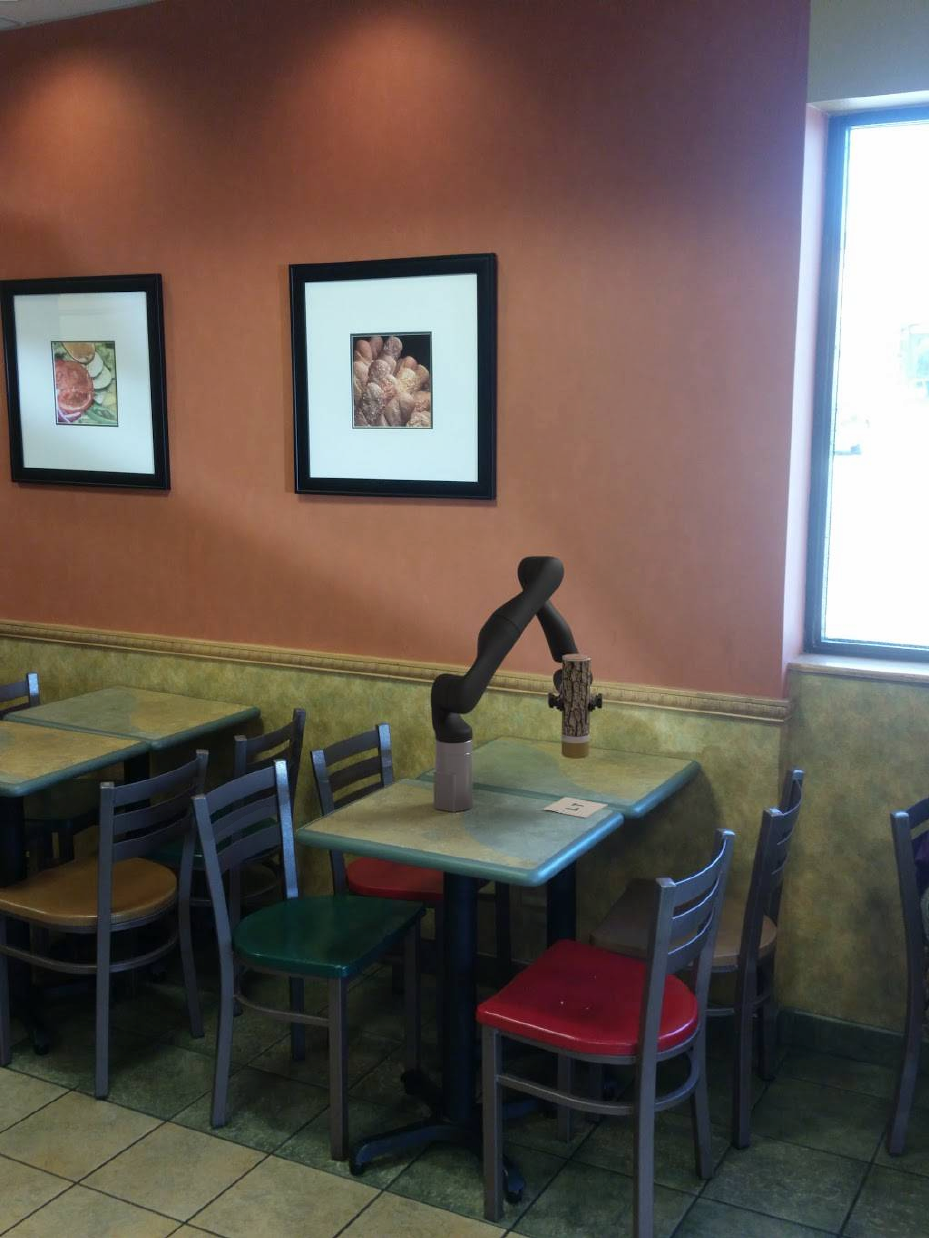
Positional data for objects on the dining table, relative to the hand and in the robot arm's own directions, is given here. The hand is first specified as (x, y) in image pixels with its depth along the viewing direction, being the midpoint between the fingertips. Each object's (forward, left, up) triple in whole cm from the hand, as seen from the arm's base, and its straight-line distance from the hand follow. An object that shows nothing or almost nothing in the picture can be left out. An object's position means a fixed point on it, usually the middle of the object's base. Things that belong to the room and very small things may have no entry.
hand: (576, 707), depth 300 cm
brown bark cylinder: (+2, +1, -13) cm, 13 cm away
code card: (+1, +1, -26) cm, 26 cm away
